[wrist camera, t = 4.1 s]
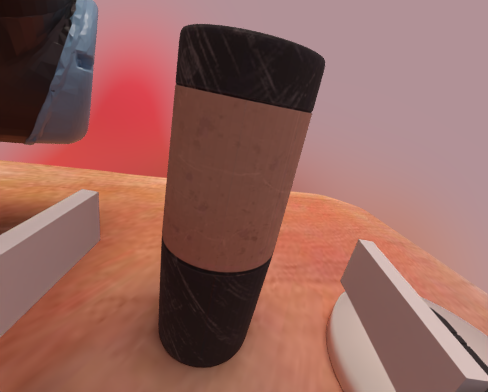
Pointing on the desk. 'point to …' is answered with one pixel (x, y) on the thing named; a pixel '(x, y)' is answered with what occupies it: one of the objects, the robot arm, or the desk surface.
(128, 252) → the desk surface
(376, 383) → the white round disc
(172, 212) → the travel mug
